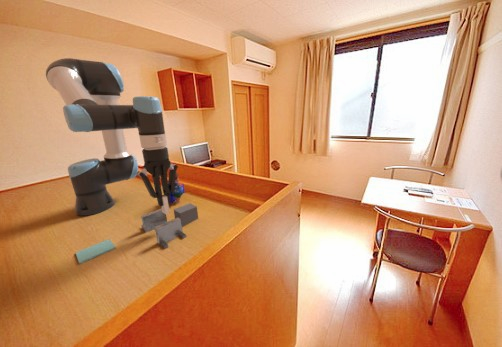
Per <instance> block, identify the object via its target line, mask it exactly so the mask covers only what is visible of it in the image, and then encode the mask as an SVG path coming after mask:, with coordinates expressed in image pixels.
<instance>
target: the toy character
mask: <svg viewBox="0 0 502 347" xmlns="http://www.w3.org/2000/svg"><path fill="white" fill-rule="evenodd" d="M179 182H180V179H179V175H178V172H177V171H176V176H175V188H174V192H172V193H173V195H174V197H175V203H177V204H179V203H181V197H182V195H183V194H184V193H183V188H182V185H181V184H182V183H179ZM182 193H183V194H182Z"/></svg>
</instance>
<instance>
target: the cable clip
mask: <svg viewBox="0 0 502 347" xmlns="http://www.w3.org/2000/svg"><path fill="white" fill-rule="evenodd" d="M180 184H181V185H182V188H183V193H182V195H183V194H185V192H186V191H185V187H184V184H183V183H180ZM170 194H171V195H170V203H169V204H173V203H174V202H176V200H175V197H174V195H173V193H170Z"/></svg>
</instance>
